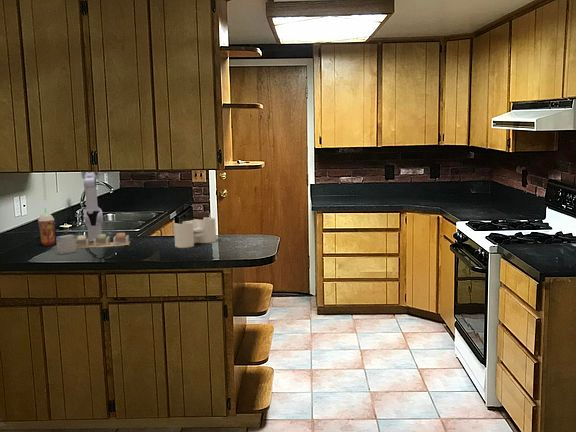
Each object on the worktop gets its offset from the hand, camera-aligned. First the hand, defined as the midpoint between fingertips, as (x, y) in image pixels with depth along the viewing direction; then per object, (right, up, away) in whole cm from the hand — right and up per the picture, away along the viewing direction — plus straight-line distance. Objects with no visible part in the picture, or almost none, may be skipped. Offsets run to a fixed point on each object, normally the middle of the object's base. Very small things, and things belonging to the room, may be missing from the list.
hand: (93, 225), depth 326 cm
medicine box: (-7, -14, -19) cm, 24 cm away
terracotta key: (+15, -8, 0) cm, 17 cm away
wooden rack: (+5, -10, -1) cm, 12 cm away
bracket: (+56, -10, -6) cm, 57 cm away
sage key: (+5, -9, -1) cm, 10 cm away
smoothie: (-27, -11, +8) cm, 30 cm away
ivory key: (-5, -9, -3) cm, 11 cm away
